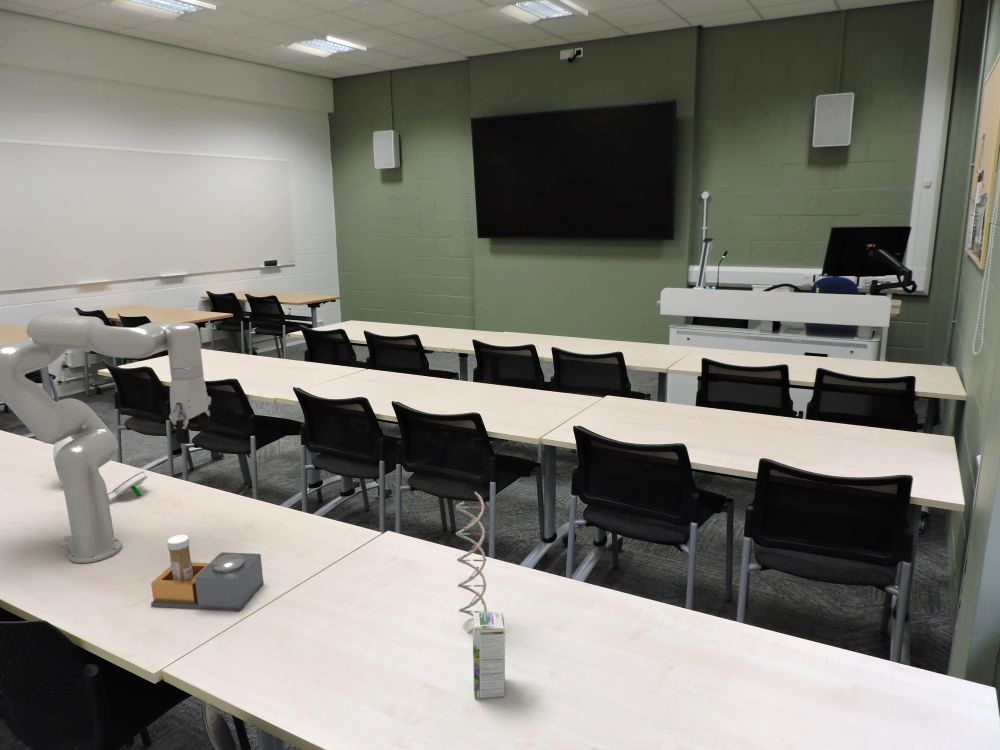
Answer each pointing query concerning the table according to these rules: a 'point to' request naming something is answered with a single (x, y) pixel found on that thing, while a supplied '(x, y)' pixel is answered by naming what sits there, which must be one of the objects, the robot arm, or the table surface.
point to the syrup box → (488, 654)
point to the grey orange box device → (212, 584)
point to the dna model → (477, 546)
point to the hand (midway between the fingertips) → (194, 437)
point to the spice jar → (180, 558)
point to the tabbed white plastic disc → (129, 486)
